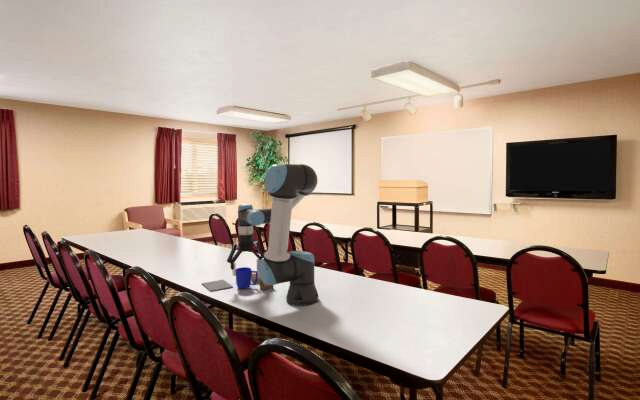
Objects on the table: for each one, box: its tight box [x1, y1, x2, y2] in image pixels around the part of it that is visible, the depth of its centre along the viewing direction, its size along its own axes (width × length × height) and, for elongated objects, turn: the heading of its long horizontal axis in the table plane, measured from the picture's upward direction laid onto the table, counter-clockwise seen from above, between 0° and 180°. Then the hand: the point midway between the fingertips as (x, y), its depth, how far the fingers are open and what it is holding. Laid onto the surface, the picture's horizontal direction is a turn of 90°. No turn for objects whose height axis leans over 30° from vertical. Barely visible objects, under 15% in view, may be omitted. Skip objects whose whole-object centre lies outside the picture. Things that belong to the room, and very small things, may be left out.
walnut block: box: [259, 279, 274, 291], centre depth 188 cm, size 5×5×5 cm
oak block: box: [251, 272, 261, 284], centre depth 202 cm, size 5×5×5 cm
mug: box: [235, 266, 258, 290], centre depth 190 cm, size 8×12×10 cm
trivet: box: [201, 279, 234, 293], centre depth 194 cm, size 16×12×1 cm
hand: (246, 273), depth 190 cm, fingers open, 13 cm apart
